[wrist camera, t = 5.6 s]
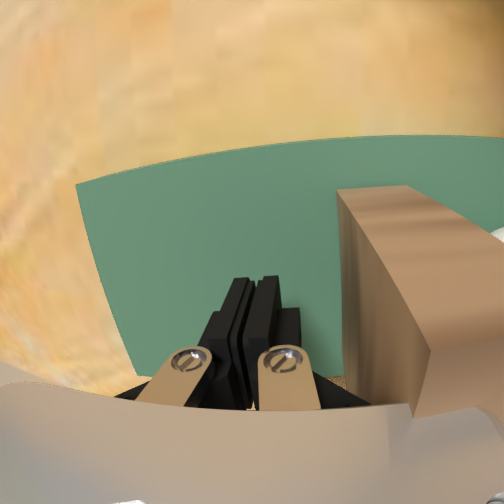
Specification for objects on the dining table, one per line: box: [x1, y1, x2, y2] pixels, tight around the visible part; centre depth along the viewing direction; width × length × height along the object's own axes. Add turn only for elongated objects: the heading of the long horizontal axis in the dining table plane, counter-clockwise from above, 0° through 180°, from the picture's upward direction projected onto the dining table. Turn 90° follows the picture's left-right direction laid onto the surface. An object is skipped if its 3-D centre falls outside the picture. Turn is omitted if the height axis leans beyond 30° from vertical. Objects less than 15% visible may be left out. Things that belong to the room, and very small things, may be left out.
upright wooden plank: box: [336, 185, 504, 425], centre depth 9 cm, size 8×4×10 cm, turn 8°
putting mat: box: [76, 135, 504, 378], centre depth 14 cm, size 12×34×3 cm, turn 98°
